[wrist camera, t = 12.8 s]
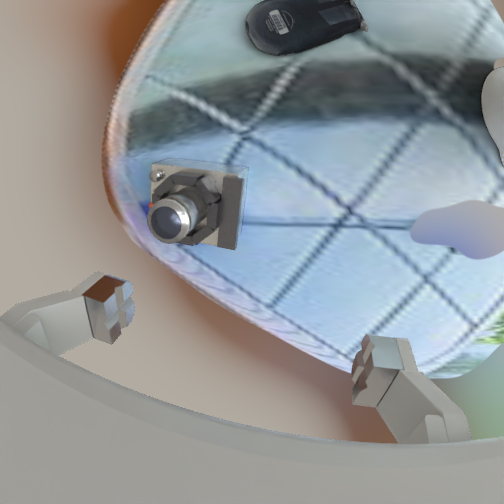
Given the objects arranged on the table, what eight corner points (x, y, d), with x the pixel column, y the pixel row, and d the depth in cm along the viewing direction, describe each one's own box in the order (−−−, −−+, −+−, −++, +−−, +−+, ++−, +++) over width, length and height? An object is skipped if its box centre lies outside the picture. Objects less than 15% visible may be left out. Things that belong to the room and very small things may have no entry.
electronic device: (332, -15, 29) (235, 13, 32) (342, -27, 24) (232, 2, 27) (359, 38, 33) (262, 67, 36) (372, 30, 28) (263, 62, 31)
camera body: (254, 168, 42) (239, 179, 34) (246, 233, 46) (230, 258, 38) (171, 157, 43) (141, 167, 35) (168, 219, 48) (141, 239, 40)
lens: (211, 190, 38) (187, 205, 31) (207, 227, 40) (184, 249, 34) (175, 183, 38) (146, 197, 32) (172, 219, 41) (145, 239, 34)
